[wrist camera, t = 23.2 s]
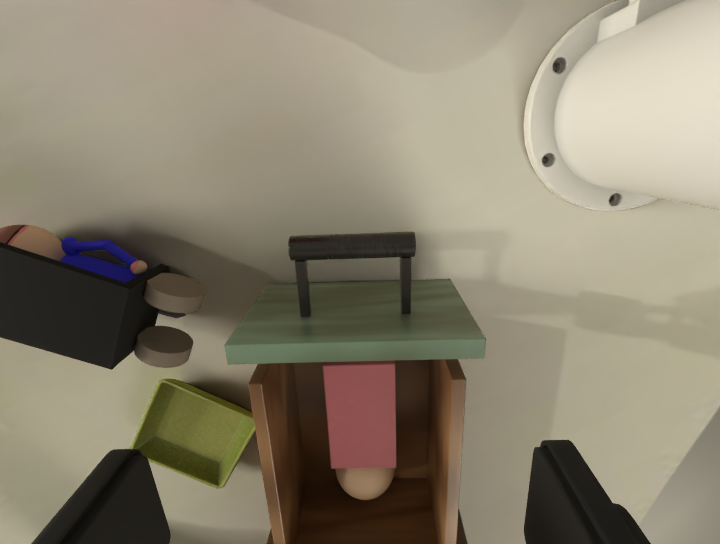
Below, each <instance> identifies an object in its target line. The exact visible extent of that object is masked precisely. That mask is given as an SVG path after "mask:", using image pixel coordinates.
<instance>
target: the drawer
mask: <svg viewBox="0 0 720 544" xmlns="http://www.w3.org/2000/svg"><path fill="white" fill-rule="evenodd" d="M288 250H289V257H290V259H291V260H292V261H295V269H296V278H297V284H272V285H267V286H266V287H265V289H264V290H263V291H262V293H261V294H260V296H259V297H258V298H257V300H256V301H255V303H254V304H253V306H252V307H251V308H250V310H249V311H248V313H247V314H246V315H245V317H244V318H243V320H242V321H241V322H240V324H239V325H238V327H237V328H236V330H235V331H234V332H233V334H232V335H231V337H230V338H229V339H228V341H227V342H226V344H225V345H224V346H225V352H226V357H227V363H228V364H258V365H257V367H256V369H255V371H254V373H253V375H252V377H251V379H250V381H249V383H248V388H249V394H250V400H251V406H252V412H253V419H254V425H255V431H256V437H257V443H258V449H259V455H260V462H261V468H262V474H263V480H264V486H265V492H266V499H267V505H268V511H269V517H270V523H271V529H272V536H273V542H274V544H456V540H457V524H458V507H459V491H460V474H461V457H462V441H463V424H464V408H465V391H466V378H465V375H464V373H463V371H462V368H461V366H460V363H459V361H458V359H478V358H484V355H485V342H486V338H485V337H484V335H483V333H482V332H481V330H480V328H479V327H478V325H477V323H476V322H475V320H474V318H473V317H472V315H471V313H470V312H469V310H468V308H467V306H466V305H465V303H464V301H463V300H462V298H461V296H460V295H459V293H458V291H457V290H456V288H455V286H454V285H453V283H452V281H451V280H450V279H435V280H411V257H414V256H415V252H416V240H415V233H414V232H391V233H363V234H334V235H305V236H290V238H289V242H288ZM388 257H400V281H370V282H337V283H309V280H308V269H307V260H327V259H358V258H388ZM393 360H395V379H396V464H397V466H396V468H395V471H394V476H393V479H392V482H391V484H390V486H389V487H388V489H387V490H386V491H385V492H384V493H383V494H381V495H380V496H378V497H377V498H374V499H370V500H360V499H357V498H354V497H352V496H350V495H349V494H348V493H346V492H345V491H344V489H343V488H342V487H341V485H340V483H339V481H338V479H337V476H336V470H335V469H332V468H331V463H330V451H329V439H328V427H327V416H326V404H325V392H324V380H323V368H322V365H323V362H351V361H393Z"/></svg>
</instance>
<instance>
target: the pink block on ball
mask: <svg viewBox="0 0 720 544" xmlns="http://www.w3.org/2000/svg"><path fill="white" fill-rule="evenodd" d="M322 368H323V380H324V392H325V404H326V416H327V427H328V439H329V451H330V463H331V468H332V469H335V470H336V476H337V479H338V481H339V483H340V485H341V487H342V488H343V489H344V491H345V492H346V493H348V494H349V495H350V496H352V497H354V498H357V499H360V500H370V499H374V498H377V497H378V496H380V495H381V494H383V493H384V492H385V491H386V490H387V489H388V487H389V486H390V484H391V482H392V479H393V476H394V471H395V468H396V466H397V464H396V379H395V360H393V361H351V362H323V365H322Z"/></svg>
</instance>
